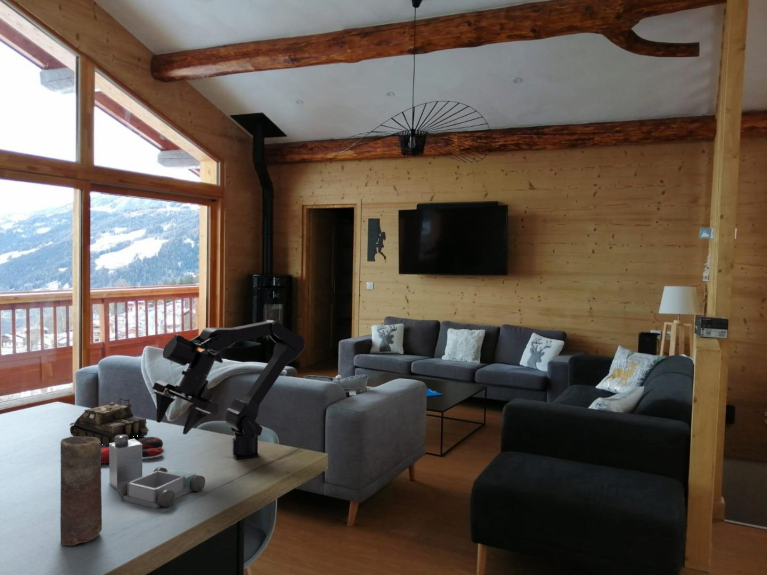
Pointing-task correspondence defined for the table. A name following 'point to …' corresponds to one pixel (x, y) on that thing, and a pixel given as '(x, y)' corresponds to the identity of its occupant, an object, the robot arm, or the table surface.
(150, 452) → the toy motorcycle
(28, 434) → the table surface
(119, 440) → the block
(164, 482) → the chassis
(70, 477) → the candle
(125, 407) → the model tank
